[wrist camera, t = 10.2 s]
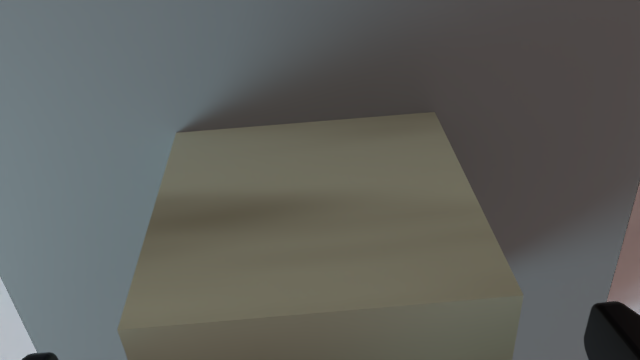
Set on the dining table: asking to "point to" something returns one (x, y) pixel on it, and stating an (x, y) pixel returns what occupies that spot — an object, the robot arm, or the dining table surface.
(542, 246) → the base slab
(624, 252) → the dining table surface
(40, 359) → the robot arm
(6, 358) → the dining table surface
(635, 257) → the dining table surface
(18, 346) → the dining table surface
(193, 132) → the sage block
